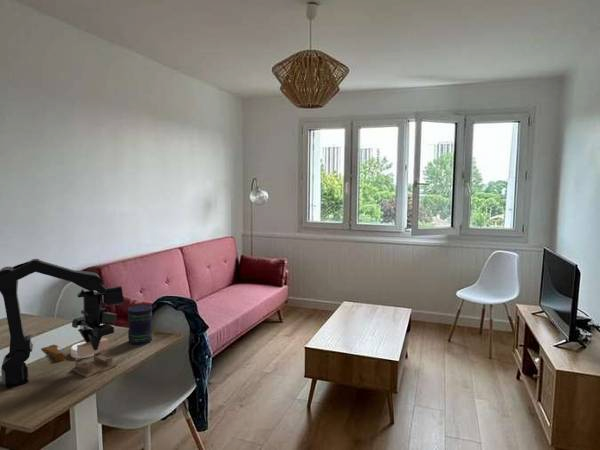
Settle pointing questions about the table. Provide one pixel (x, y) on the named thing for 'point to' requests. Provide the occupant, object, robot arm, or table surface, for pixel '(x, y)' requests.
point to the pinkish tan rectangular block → (88, 349)
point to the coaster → (74, 351)
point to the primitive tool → (54, 352)
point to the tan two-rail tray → (93, 365)
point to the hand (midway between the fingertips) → (93, 348)
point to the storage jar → (140, 325)
